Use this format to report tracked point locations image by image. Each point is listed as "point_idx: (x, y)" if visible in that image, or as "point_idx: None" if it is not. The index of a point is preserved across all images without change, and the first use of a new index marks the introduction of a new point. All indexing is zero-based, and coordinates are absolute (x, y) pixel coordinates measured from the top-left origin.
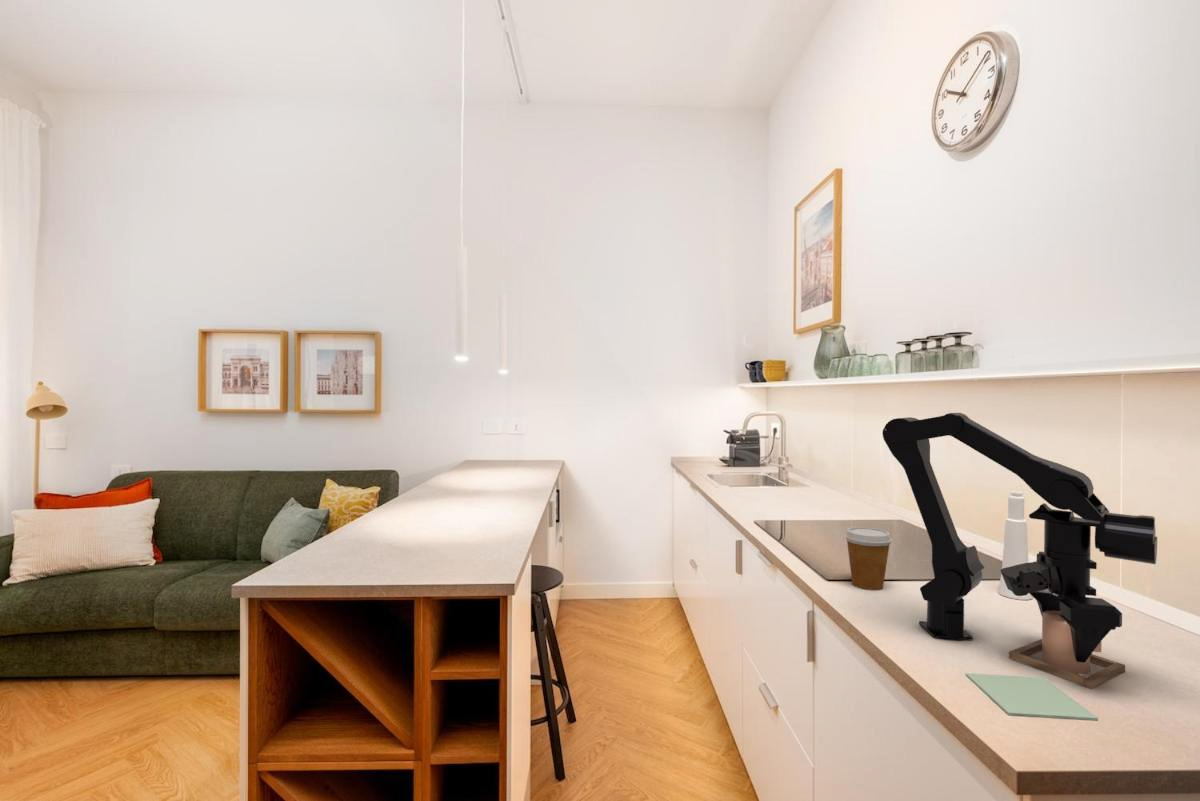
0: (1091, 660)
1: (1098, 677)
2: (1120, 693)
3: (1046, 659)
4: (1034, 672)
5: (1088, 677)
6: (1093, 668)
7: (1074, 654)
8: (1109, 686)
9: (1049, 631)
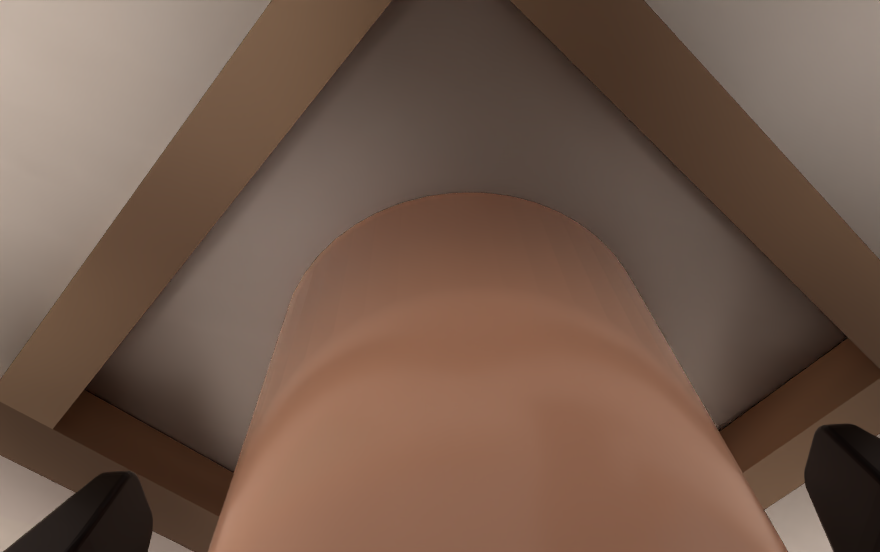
0: None
1: None
2: None
3: (399, 227)
4: (96, 4)
5: (50, 439)
6: None
7: (88, 513)
8: None
9: (317, 509)
